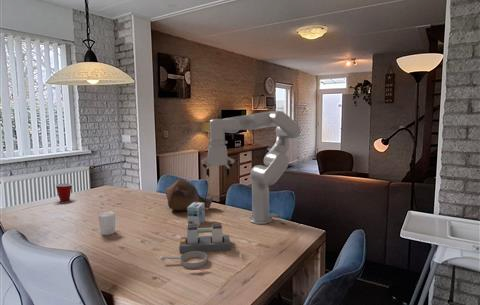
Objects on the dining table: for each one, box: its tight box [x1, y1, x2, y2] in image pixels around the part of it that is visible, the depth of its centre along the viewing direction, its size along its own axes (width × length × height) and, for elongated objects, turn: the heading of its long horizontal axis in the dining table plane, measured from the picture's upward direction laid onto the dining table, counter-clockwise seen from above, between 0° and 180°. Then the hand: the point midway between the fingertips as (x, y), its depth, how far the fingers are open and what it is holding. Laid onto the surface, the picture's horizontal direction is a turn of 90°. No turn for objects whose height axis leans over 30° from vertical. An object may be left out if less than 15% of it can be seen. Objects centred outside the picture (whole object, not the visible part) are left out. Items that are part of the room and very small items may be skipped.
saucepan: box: [161, 251, 208, 271], centre depth 125 cm, size 11×18×4 cm, turn 92°
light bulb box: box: [186, 202, 206, 227], centre depth 172 cm, size 11×7×11 cm, turn 168°
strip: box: [178, 234, 232, 254], centre depth 139 cm, size 22×10×5 cm, turn 96°
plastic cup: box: [55, 182, 74, 203], centre depth 221 cm, size 11×11×12 cm
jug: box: [165, 178, 214, 212], centre depth 197 cm, size 20×20×30 cm
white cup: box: [98, 211, 116, 236], centre depth 160 cm, size 8×8×10 cm
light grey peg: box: [186, 224, 199, 244], centre depth 138 cm, size 4×4×10 cm
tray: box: [198, 227, 212, 236], centre depth 153 cm, size 11×11×2 cm
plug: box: [211, 222, 223, 243], centre depth 140 cm, size 4×4×10 cm
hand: (217, 176), depth 161 cm, fingers open, 9 cm apart
